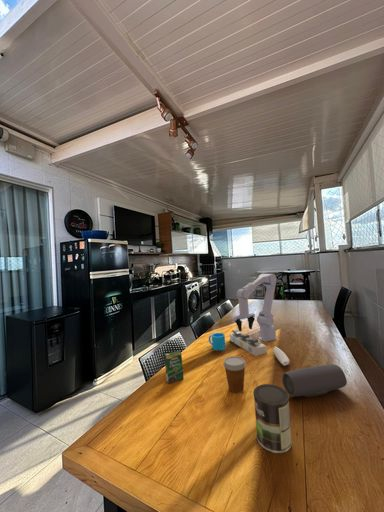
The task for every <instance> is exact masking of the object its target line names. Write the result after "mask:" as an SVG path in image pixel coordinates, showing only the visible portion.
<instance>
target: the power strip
mask: <svg viewBox="0 0 384 512" xmlns="http://www.w3.org/2000/svg"><path fill="white" fill-rule="evenodd" d="M244 334H245V333H243V332H241V335H244ZM249 339H253V338H252V337H250V336H249V338H240V335H238V336H237V335H235V334H234V333H233V332H232V333H229V341H230V340H231V341H230V342H232V343H233V342H234V343H233V344H234V345H237V346H239V347H240V348H242V349H244V350H245V351H246V352H248V353H250V355H253V356H255V357H257V356H262V355H265V354H267V353H268V352H267V345H266V344H263V343H262V342H261V341H259V342H257V343H250V342H248V340H249Z"/></svg>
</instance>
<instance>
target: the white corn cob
mask: <svg viewBox="0 0 384 512" xmlns="http://www.w3.org/2000/svg"><path fill="white" fill-rule="evenodd" d="M272 350H273V354H274V355H275V358H276V359H277V360H278V362H279V363H280V364H281V365H282V366H284V367H286V366H288V365H289V364H290V358H289V357H288V355H287V354H286V353H285V352H284V351H283V350H282V349H280V348H279V347H278V346H274V347H273V349H272Z"/></svg>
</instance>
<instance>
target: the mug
mask: <svg viewBox="0 0 384 512" xmlns="http://www.w3.org/2000/svg"><path fill="white" fill-rule="evenodd" d="M208 342H209V345H211V347H212V349H213V350H214V351H218V350H219V351H218V352H220V350H221V351H224V350H226V336H225V333H222V332H215V333H212V334H210V335H209V337H208Z"/></svg>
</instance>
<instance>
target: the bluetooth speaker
mask: <svg viewBox="0 0 384 512" xmlns="http://www.w3.org/2000/svg"><path fill="white" fill-rule="evenodd" d="M281 381H282V385H283V389H284V390H285V391H286V392H287V393H288V395H289V397H293V398H294V397H305V398H310V397H318V396H322V395H326V394H328V392H331V391H334V390H338V389H342V388H343V387H346V386H347V384H348V383H347V382H348V381H347V377H346V374H345V372H344V370H343V369H342V368H341V366H339V365H337V364H324V365H316V366H315V365H314V366H309V367H305V368H299V369H294V370H290V371H285V372H284V373H282V379H281Z"/></svg>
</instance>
